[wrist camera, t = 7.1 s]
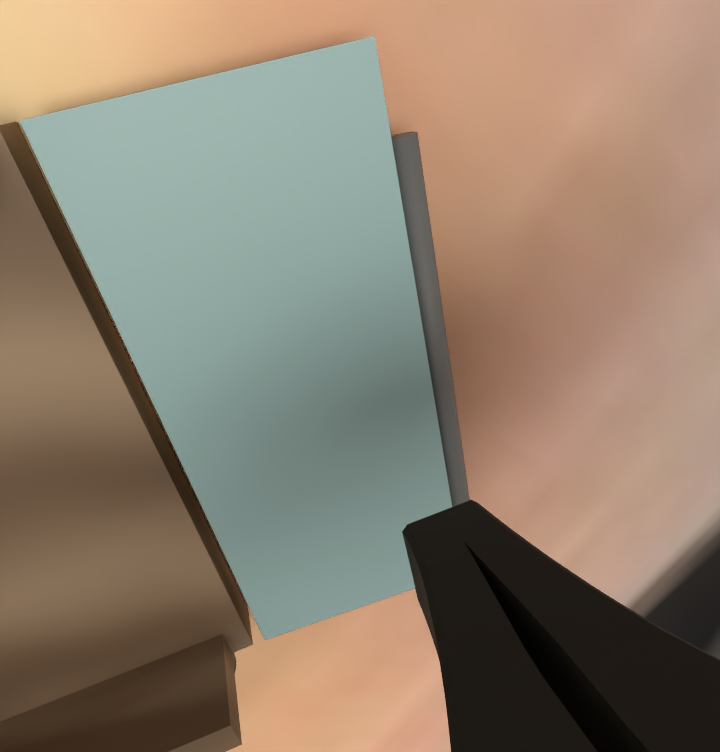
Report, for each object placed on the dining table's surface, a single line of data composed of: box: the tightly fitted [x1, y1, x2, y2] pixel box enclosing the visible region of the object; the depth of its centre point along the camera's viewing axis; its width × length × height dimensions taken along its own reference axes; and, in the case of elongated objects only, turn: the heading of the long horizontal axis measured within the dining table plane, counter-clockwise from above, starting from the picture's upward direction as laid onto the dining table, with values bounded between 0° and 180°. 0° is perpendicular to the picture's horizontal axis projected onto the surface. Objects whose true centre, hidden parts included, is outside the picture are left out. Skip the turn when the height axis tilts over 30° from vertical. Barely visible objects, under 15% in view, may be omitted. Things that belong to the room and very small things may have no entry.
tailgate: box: [20, 36, 470, 640], centre depth 15 cm, size 16×1×8 cm
